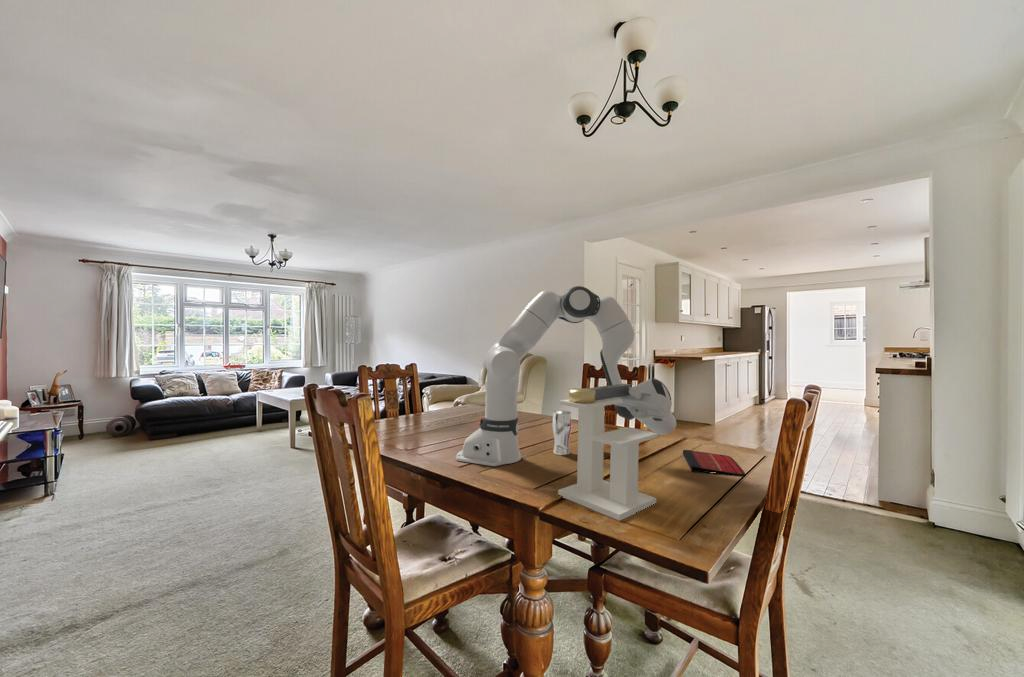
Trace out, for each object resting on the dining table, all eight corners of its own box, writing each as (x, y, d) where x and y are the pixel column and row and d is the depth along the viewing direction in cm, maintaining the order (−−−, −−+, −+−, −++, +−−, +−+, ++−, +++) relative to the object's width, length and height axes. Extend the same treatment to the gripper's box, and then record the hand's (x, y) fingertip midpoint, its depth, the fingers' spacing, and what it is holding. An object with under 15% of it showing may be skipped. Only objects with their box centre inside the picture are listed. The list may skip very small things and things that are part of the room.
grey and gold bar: (583, 404, 112) (583, 393, 112) (563, 400, 117) (563, 389, 117) (637, 395, 128) (637, 385, 128) (617, 392, 133) (618, 382, 133)
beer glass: (575, 453, 158) (575, 412, 158) (563, 457, 154) (563, 414, 153) (560, 449, 163) (560, 409, 163) (548, 452, 159) (548, 411, 158)
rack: (619, 520, 103) (621, 412, 103) (558, 495, 118) (559, 400, 118) (656, 503, 114) (658, 404, 113) (595, 482, 129) (596, 395, 128)
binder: (691, 466, 139) (682, 448, 160) (691, 473, 139) (682, 455, 160) (746, 473, 135) (730, 454, 156) (746, 480, 135) (729, 460, 156)
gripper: (620, 393, 146) (597, 375, 138) (677, 402, 130) (655, 382, 122) (613, 411, 144) (591, 393, 136) (671, 422, 128) (649, 403, 120)
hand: (622, 388), depth 129 cm, fingers closed on grey and gold bar, 3 cm apart
